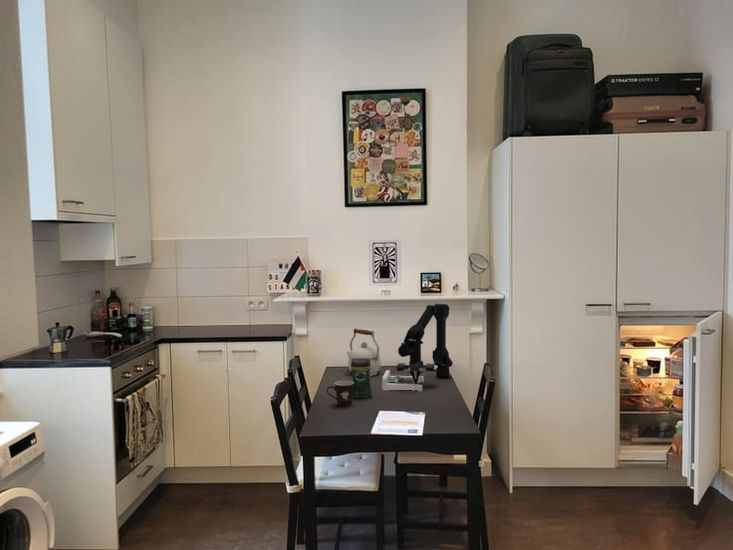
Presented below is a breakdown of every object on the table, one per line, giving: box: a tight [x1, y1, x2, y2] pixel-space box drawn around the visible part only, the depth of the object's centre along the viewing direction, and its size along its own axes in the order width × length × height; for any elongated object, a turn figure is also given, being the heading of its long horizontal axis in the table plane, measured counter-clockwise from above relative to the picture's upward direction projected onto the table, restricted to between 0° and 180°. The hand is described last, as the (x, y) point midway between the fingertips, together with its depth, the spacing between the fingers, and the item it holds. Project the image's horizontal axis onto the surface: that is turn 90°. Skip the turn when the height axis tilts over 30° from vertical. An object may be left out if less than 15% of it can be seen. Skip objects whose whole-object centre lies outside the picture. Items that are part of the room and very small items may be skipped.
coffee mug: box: [326, 380, 354, 408], centre depth 242 cm, size 12×9×10 cm
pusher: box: [394, 374, 401, 384], centre depth 271 cm, size 1×12×5 cm, turn 171°
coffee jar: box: [350, 358, 373, 399], centre depth 254 cm, size 10×8×19 cm
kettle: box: [346, 328, 382, 377], centre depth 299 cm, size 25×18×25 cm
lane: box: [381, 369, 425, 392], centre depth 271 cm, size 20×18×6 cm
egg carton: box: [398, 377, 414, 384], centre depth 271 cm, size 11×8×4 cm
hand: (415, 384), depth 270 cm, fingers closed
